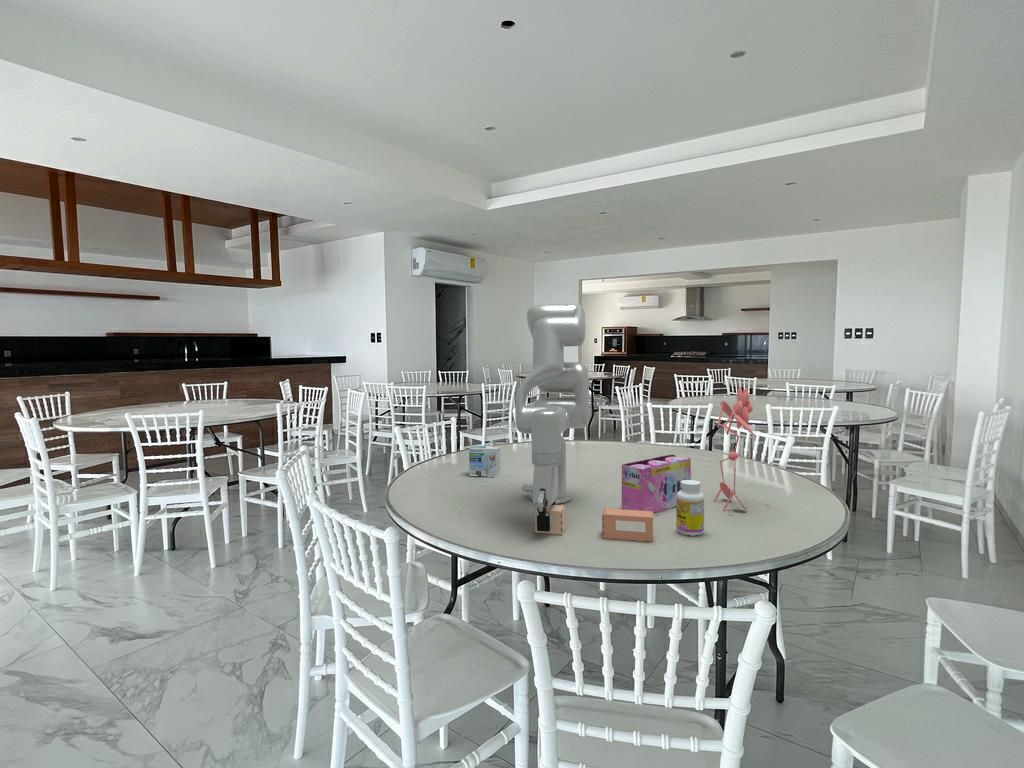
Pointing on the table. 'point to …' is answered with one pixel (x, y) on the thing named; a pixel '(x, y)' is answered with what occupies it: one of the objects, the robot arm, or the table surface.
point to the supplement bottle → (690, 509)
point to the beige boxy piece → (554, 520)
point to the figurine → (742, 418)
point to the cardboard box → (627, 524)
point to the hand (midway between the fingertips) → (547, 525)
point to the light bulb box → (484, 460)
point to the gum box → (653, 483)
